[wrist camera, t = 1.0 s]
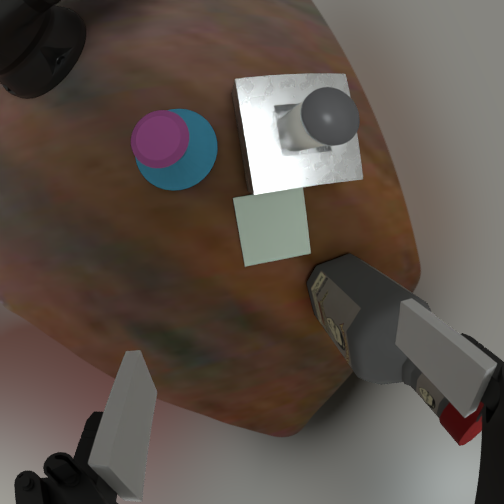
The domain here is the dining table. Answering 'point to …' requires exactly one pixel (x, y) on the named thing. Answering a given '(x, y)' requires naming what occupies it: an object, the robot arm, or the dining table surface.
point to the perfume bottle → (174, 148)
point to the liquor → (377, 333)
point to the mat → (272, 225)
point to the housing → (267, 138)
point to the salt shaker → (319, 121)
